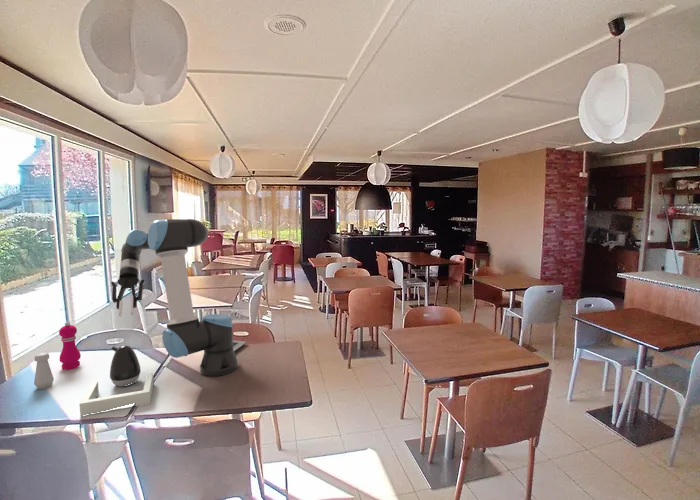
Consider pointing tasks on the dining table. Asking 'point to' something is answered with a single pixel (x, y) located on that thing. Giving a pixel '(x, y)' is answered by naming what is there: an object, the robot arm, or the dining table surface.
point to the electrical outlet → (238, 344)
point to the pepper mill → (69, 347)
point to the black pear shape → (124, 366)
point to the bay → (115, 398)
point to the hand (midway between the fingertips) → (126, 314)
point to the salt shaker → (43, 372)
